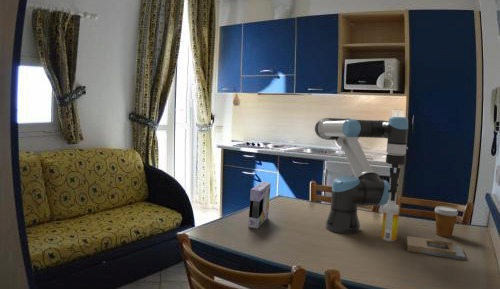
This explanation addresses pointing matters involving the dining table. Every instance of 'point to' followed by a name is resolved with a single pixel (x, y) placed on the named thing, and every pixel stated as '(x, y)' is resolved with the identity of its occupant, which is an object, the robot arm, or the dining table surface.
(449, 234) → the disposable coffee cup
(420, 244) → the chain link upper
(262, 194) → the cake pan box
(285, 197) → the dining table surface
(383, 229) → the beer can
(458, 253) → the grey flat plate
